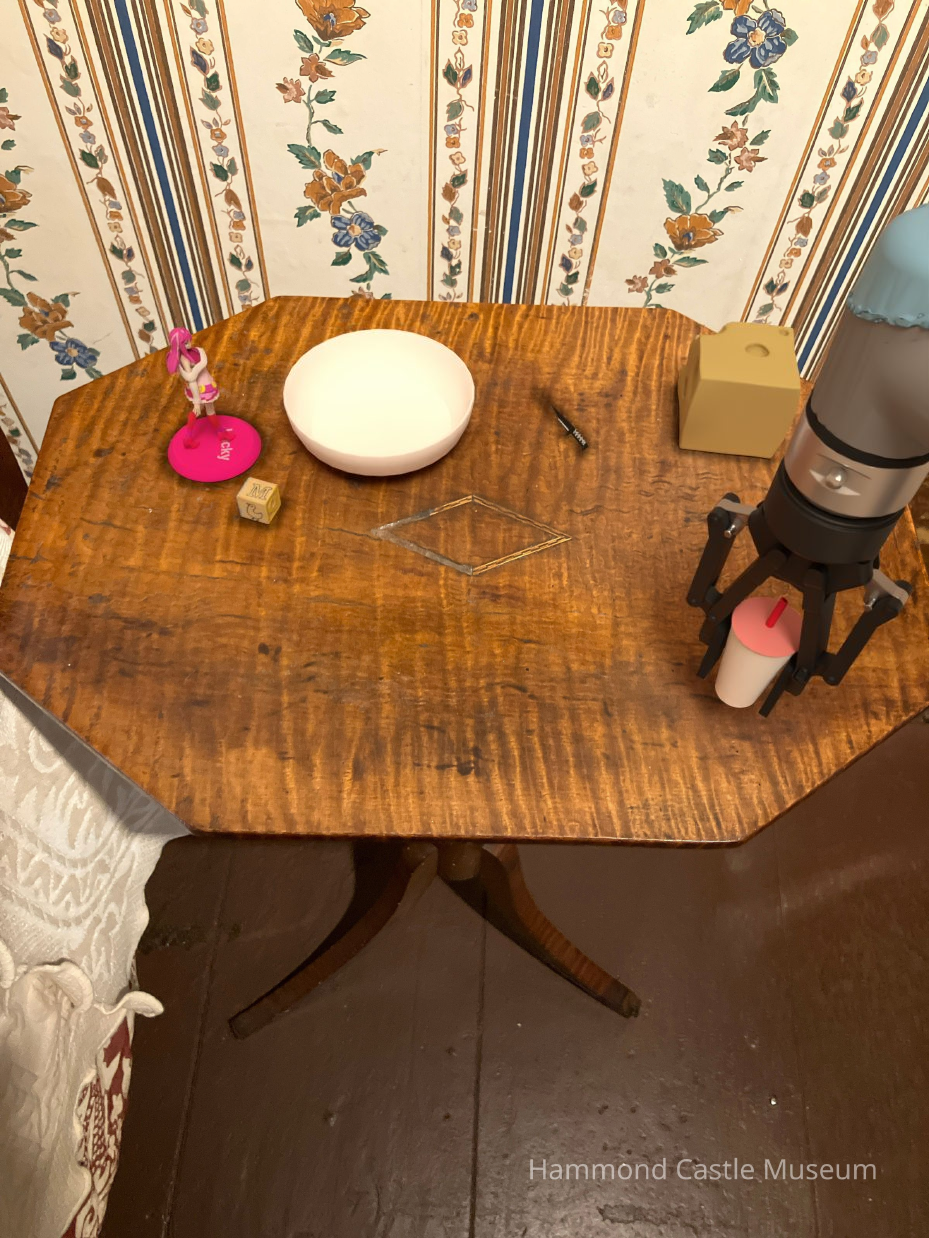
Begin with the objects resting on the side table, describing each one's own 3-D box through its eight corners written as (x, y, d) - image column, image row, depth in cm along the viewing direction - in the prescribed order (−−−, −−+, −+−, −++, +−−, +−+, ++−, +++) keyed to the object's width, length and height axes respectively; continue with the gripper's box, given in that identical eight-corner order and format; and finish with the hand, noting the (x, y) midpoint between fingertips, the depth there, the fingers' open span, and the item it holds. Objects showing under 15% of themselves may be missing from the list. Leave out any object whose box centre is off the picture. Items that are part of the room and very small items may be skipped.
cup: (768, 667, 72) (819, 576, 63) (770, 723, 69) (824, 637, 59) (703, 657, 73) (742, 565, 63) (702, 712, 70) (744, 625, 60)
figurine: (262, 478, 90) (235, 359, 78) (166, 487, 89) (123, 368, 77) (260, 414, 96) (234, 293, 83) (169, 421, 95) (129, 301, 82)
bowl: (446, 362, 101) (446, 316, 96) (495, 481, 91) (498, 437, 86) (277, 389, 98) (269, 343, 93) (308, 516, 87) (300, 473, 82)
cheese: (675, 388, 100) (696, 313, 92) (770, 399, 99) (800, 324, 91) (674, 452, 94) (697, 378, 86) (776, 464, 93) (809, 390, 85)
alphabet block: (254, 496, 89) (248, 475, 86) (282, 504, 88) (278, 482, 86) (240, 518, 87) (234, 497, 85) (269, 525, 87) (264, 505, 84)
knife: (533, 397, 99) (533, 395, 98) (544, 394, 99) (545, 391, 99) (578, 453, 94) (578, 450, 93) (590, 449, 94) (590, 446, 94)
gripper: (680, 445, 53) (619, 657, 72) (974, 592, 47) (822, 782, 66) (738, 382, 56) (665, 600, 75) (1019, 511, 50) (862, 713, 69)
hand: (738, 684), depth 70 cm, fingers closed on cup, 5 cm apart
